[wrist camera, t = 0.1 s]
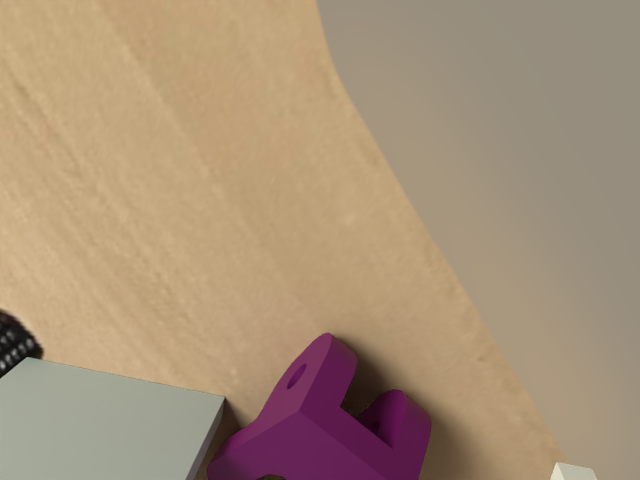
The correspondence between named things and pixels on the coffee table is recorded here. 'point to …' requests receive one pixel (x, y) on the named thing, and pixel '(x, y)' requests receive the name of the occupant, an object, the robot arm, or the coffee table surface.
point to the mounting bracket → (326, 428)
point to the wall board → (100, 425)
